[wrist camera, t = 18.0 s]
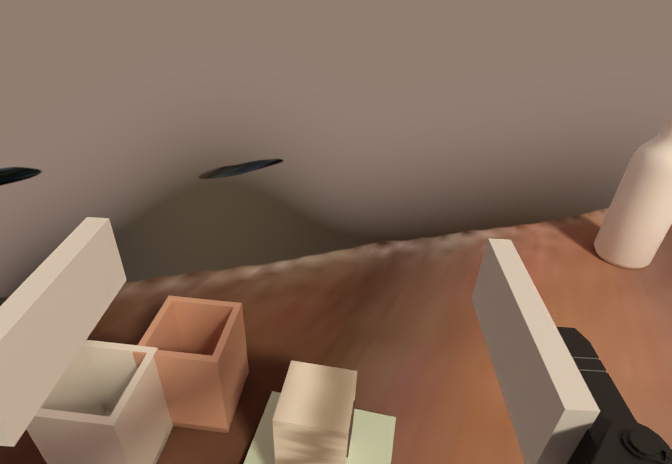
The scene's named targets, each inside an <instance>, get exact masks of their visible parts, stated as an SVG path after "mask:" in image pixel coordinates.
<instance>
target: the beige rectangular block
mask: <svg viewBox="0 0 672 464" xmlns="http://www.w3.org/2000/svg"><path fill="white" fill-rule="evenodd" d="M356 379H357V371H353V370H347V369H341V368H334V367H328V366H322V365H316V364H310V363H303V362H297V361H291V363H290V366H289V369H288V373H287V376H286V379H285V382H284V385H283V388H282V391H281V395H280V398H279V401H278V404H277V407H276V410H275V413H274V416H273V420H272V421H273V436H274V451H275V464H347V460H348V454H349V447H350V441H351V434H352V427H353V418H354V409H355V400H354V399H355V389H356Z"/></svg>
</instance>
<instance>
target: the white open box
mask: <svg viewBox="0 0 672 464" xmlns="http://www.w3.org/2000/svg"><path fill="white" fill-rule="evenodd" d="M156 350H158V348H156V347H147V346H138V345H129V344H120V343H110V342H101V341H92V340H86V341H85V342H84V344H83V345H82V347H81V348H80V350H79V351H78V353H77V354H76V356H75V357H74V359H73V360H72V362H71V363H70V365H69V366H68V367H67V369H66V370H65V372H64V373H63V375H62V376H61V378H60V379H59V381H58V382H57V384H56V385H55V387H54V388H53V390H52V391H51V393H50V394H49V396H48V397H47V399H46V400H45V402H44V403H43V405H42V406H41V407H40V409H39V410H38V412H37V413H36V415H35V416H34V418H33V419H32V421H31V422H30V424H29V425H28V427H27V428H26V430H27V431H28V433H29V435H30V436H31V438H32V440H33V441H34V443H35V445H36V446H37V448H38V450H39V451H40V453H41V455H42V456H43V458H44V460H45V461H46V463H47V464H156V463H157V461H158V459H159V457H160V454H161V452H162V450H163V448H164V445H165V443H166V441H167V439H168V436H169V434H170V432H171V430H172V427H173V425H172V421H171V417H170V414H169V410H168V407H167V403H166V399H165V396H164V392H163V388H162V385H161V381H160V377H159V374H158V370H157V366H156V363H155V359H154V354H155V352H156ZM134 351H136V352H145V353H147V354H146V356H145V357H144V359H143V361H142V363H141V364H140V366H139V368H138V369H137V366H136V363H135V359H134V356H133V352H134Z"/></svg>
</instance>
